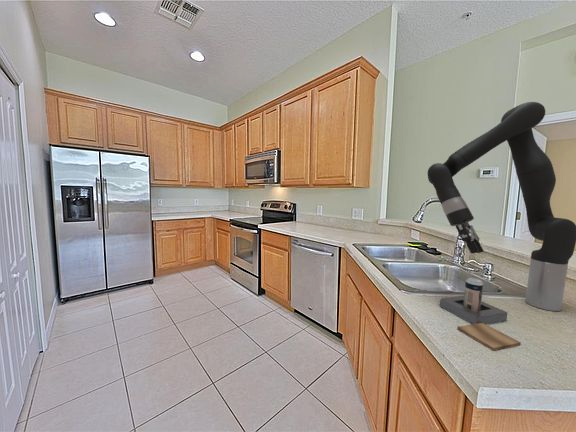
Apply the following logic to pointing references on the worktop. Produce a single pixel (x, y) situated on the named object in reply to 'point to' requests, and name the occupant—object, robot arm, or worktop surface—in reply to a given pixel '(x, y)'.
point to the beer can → (473, 294)
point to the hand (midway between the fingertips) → (477, 252)
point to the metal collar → (485, 315)
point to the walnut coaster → (488, 336)
